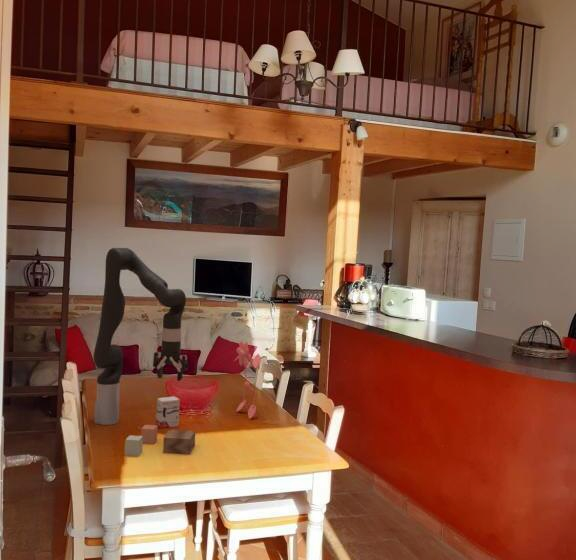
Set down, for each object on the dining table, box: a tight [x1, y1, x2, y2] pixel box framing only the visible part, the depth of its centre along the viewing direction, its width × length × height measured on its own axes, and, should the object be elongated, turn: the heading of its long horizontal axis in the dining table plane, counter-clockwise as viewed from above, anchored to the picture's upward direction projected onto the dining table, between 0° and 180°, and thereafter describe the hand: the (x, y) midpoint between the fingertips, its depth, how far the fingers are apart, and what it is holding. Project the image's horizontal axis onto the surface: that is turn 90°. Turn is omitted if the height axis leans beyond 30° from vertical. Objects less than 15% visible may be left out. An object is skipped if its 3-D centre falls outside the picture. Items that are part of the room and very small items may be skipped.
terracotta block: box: [140, 424, 158, 445], centre depth 241 cm, size 5×5×6 cm
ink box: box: [155, 395, 180, 429], centre depth 263 cm, size 8×5×12 cm, turn 123°
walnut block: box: [162, 429, 196, 455], centre depth 234 cm, size 10×10×6 cm
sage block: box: [124, 435, 144, 457], centre depth 227 cm, size 5×5×6 cm
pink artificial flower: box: [226, 340, 262, 423], centre depth 281 cm, size 15×26×35 cm, turn 30°
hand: (169, 379), depth 246 cm, fingers open, 8 cm apart
